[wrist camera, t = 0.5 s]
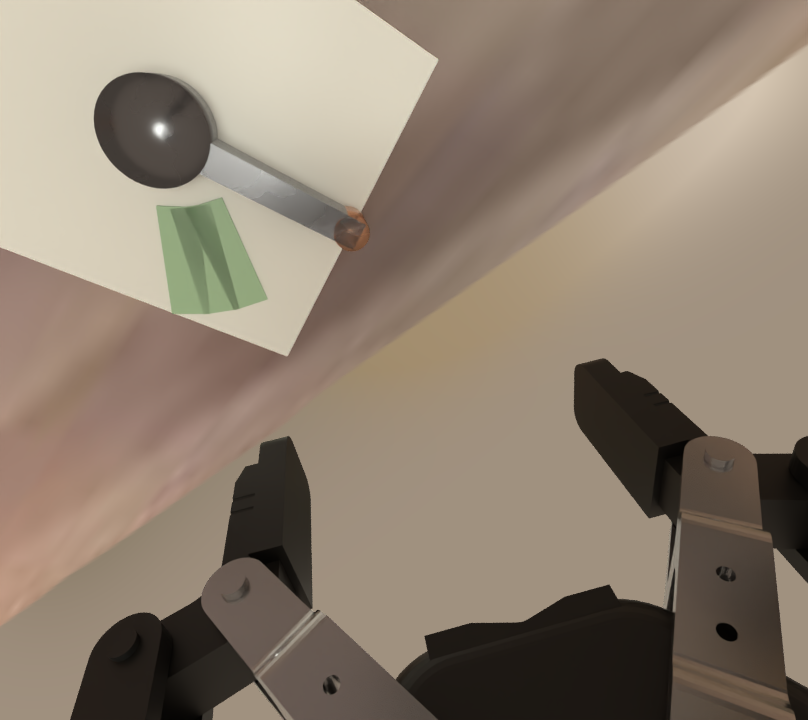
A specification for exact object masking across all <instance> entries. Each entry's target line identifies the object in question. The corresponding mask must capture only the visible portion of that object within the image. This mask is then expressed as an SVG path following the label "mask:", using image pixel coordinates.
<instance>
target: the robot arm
mask: <svg viewBox="0 0 808 720" xmlns="http://www.w3.org/2000/svg"><path fill="white" fill-rule="evenodd" d="M574 412H575V417H576V420H577V423H578V425H579V427H580V429H581V430H582V432H583V433H584V434H585V436H586V437H587V438H588V440H589V441H590V442H591V443H592V445H593V446H594V447H595V449H596V450H597V451H598V453H599V454H600V455H601V456H602V458H603V459H604V460H605V462H606V463H607V464H608V466H609V467H610V468H611V470H612V471H613V472H614V473H615V475H616V476H617V477H618V479H619V480H620V481H621V483H622V484H623V485H624V486H625V488H626V489H627V490H628V492H629V493H630V494H631V496H632V497H633V498H634V499H635V501H636V502H637V503H638V505H639V506H640V507H641V509H642V510H643V511H644V513H645V514H646V515H647V516H648V518H652V517H656V516H660V515H664V514H666V515H667V516H668V517H669V519H670V520H671V521H672V523H671V528H670V538H669V550H668V563H667V574H666V586H665V596H664V604H663V608H661V607H658V606H655V605H652V604H649V603H645V602H640V601H635V600H627V599H617V597H616V596H615V594H614V592H613V590H612V589H611V587H610V585H606V586H603V587H599V588H595V589H591V590H588V591H584V592H581V593H577V594H573V595H570V596H566V597H564V598H562V599H560V600H559V601H557V602H556V603H554V604H552V605H551V606H549V607H547V608H546V609H544V610H543V611H541V612H539V613H538V614H536V615H534V616H533V617H531V618H530V619H528V620H526V621H524V622H518V623H469V624H466V625H462V626H459V627H455V628H451V629H448V630H444V631H441V632H437V633H434V634H430V635H426V636H425V640H426V645H427V650H428V651H427V652H425V653H424V654H422V655H420V656H419V657H418V658H416V659H415V660H414V661H413V662H411V663H410V664H409V665H408V666H407V667H406V668H405V669H404V670H403V671H402V672H401V673H400V674H399V676H398V677H397V678H396V680H395V679H394V678H393V677H392V676H391V675H390V674H389V673H388V672H387V671H385V669H383V668H382V667H381V666H380V665H379V664H378V663H377V662H376V661H375V660H374V659H373V658H372V657H371V656H370V655H369V654H367V653H366V652H365V651H364V650H363V649H362V648H361V647H360V646H359V645H358V644H357V643H356V642H355V641H354V640H353V639H352V638H350V637H349V636H348V635H347V634H346V633H345V632H344V631H343V630H342V629H341V628H340V627H339V626H337V624H336V623H334V622H333V621H332V620H331V619H330V618H329V617H328V616H327V615H326V614H324V613H323V612H322V611H320V610H317V611H316V612H313V611H312V610H311V609H312V556H311V555H312V553H311V499H310V491H309V485H308V481H307V478H306V475H305V472H304V470H303V468H302V465H301V462H300V460H299V457H298V454H297V452H296V449H295V447H294V444H293V442H292V440H291V438H290V437H289V436H287V437H283V438H279V439H275V440H272V441H267V442H263V443H261V445H260V454H259V462H258V464H254V465H250V466H246V467H245V468H244V470H243V471H242V473H241V475H240V476H239V478H238V480H237V481H236V482H235V488H234V495H233V502H232V507H231V515H230V519H229V525H228V531H227V537H226V543H225V549H224V556H223V562H222V566H221V568H219V569H218V570H217V571H216V572H215V573H214V574H213V575H212V576H211V577H210V579H209V580H208V582H207V583H206V585H205V587H204V589H203V592H202V596H201V597H200V598H198V599H197V600H196V601H194V602H193V603H191V604H190V605H188V606H186V607H184V608H182V609H181V610H179V611H177V612H175V613H174V614H172V615H170V616H168V617H166V618H165V619H163V620H161V621H160V620H159V619H158V618H157V617H156V616H155V615H153V614H151V613H137V614H133V615H131V616H128V617H126V618H124V619H122V620H120V621H119V622H117V623H116V624H115V625H113V626H112V627H111V628H110V629H109V630H108V631H107V632H106V633H105V634H104V635H103V636H102V637H101V638H100V639H99V641H98V642H97V644H96V645H95V647H94V648H93V650H92V652H91V655H90V657H89V660H88V664H87V667H86V670H85V673H84V677H83V680H82V683H81V686H80V690H79V693H78V696H77V699H76V703H75V706H74V709H73V712H72V716H71V719H70V720H212V718H213V708H214V707H215V706H217V705H218V704H219V703H221V702H223V701H224V700H226V699H227V698H229V697H230V696H232V695H234V694H235V693H237V692H238V691H240V690H241V689H243V688H244V687H246V686H248V685H249V684H251V683H252V682H253V683H254V684H255V685H256V686H257V688H258V689H259V690H260V691H261V693H262V694H263V695H264V697H265V698H266V699H267V700H268V702H269V703H270V704H271V705H272V707H273V708H274V709H275V711H276V712H277V713H278V714H279V716H280V717H281V718H282V719H283V720H808V688H807V687H805V686H803V685H801V684H800V683H798V682H796V681H794V680H792V679H791V678H789V677H787V676H786V673H785V664H784V653H783V644H782V633H781V623H780V613H779V603H778V594H777V584H776V573H775V563H774V553H773V548H777V550H778V551H779V552H780V553H781V554H782V555H783V556H784V557H785V558H786V560H788V562H789V563H790V564H791V565H792V566H793V567H794V568H795V570H796V571H797V572H798V573H799V574H800V575H801V576H802V577H803V578H804V580H805V581H806V582H807V583H808V436H806V437H804V438H802V439H800V440H799V441H797V443H796V445H795V447H794V450H793V453H792V454H752V453H751V452H750V451H749V450H748V449H747V448H745V447H744V446H743V445H741V444H739V443H737V442H734V441H732V440H730V439H726V438H722V437H715V436H707V435H706V434H705V433H704V432H703V431H702V430H701V429H700V428H699V427H698V426H696V425H695V424H694V423H693V422H692V421H691V420H690V419H689V418H688V417H687V416H686V415H684V414H683V413H682V412H681V411H680V410H679V409H678V408H677V407H676V406H675V405H673V404H672V403H669V400H668V399H667V398H666V397H665V396H663V395H662V394H661V393H660V394H659V392H658V390H657V389H656V388H655V387H654V386H653V385H651V384H650V383H649V382H648V381H647V380H646V379H644V378H642V377H639V376H637V375H635V374H633V373H631V372H628V371H626V372H622V373H620V372H619V371H618V370H617V369H616V368H615V367H614V366H613V365H612V364H611V363H610V362H609V361H608V360H606V359H598V360H594V361H590V362H587V363H582V364H578V365H576V367H575V372H574Z"/></svg>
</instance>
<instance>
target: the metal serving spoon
mask: <svg viewBox="0 0 808 720" xmlns="http://www.w3.org/2000/svg"><path fill="white" fill-rule="evenodd" d="M94 128H95V132H96V136H97V139H98V142H99V144H100V146H101V148H102V150H103V152H104V153H105V155H106V157H107V158H108V159H109V160H110V162H111V163H112V164H113V165H114V166H115V167H116V168H117V169H118V170H119V171H120V172H122V173H123V174H124V175H125V176H127V177H128V178H130V179H132V180H133V181H135V182H137V183H140V184H142V185H145V186H148V187H152V188H159V189H168V188H175V187H179V186H182V185H184V184H186V183H188V182H190V181H191V180H193V179H194V178H195V177H196V176H197V175H199V174H200V175H203V176H205V177H207V178H209V179H211V180H213V181H215V182H217V183H219V184H221V185H223V186H225V187H227V188H229V189H231V190H233V191H235V192H237V193H239V194H241V195H243V196H245V197H247V198H249V199H251V200H253V201H255V202H257V203H259V204H261V205H263V206H265V207H267V208H269V209H271V210H273V211H275V212H277V213H279V214H281V215H283V216H285V217H287V218H289V219H291V220H293V221H295V222H297V223H299V224H301V225H303V226H305V227H307V228H309V229H311V230H313V231H315V232H317V233H320V234H322V235H324V236H326V237H328V238H330V239H332V240H334V241H336V243H337V244H338V246H339V247H341V248H342V249H344V250H347V251H357V250H359V249H361V248H363V247H364V246H365V245H366V243H367V242H368V240H369V235H370V232H369V227H368V225H367V223H366V221H365V219H364V217H363V215H362V213H361V212H360V211H359V210H358V209H356V208H354V207H351V206H343V205H342V204H340V203H338V202H336V201H334V200H332V199H330V198H328V197H326V196H325V195H323V194H321V193H319V192H317V191H315V190H313V189H311V188H310V187H308V186H306V185H304V184H302V183H300V182H298V181H296V180H294V179H293V178H291V177H289V176H287V175H285V174H283V173H281V172H279V171H277V170H276V169H274V168H272V167H270V166H268V165H266V164H264V163H262V162H260V161H259V160H257V159H255V158H253V157H251V156H249V155H247V154H245V153H244V152H242V151H240V150H238V149H236V148H234V147H232V146H230V145H228V144H227V143H225V142H223V141H221V140H219V139H218V133H217V126H216V122H215V119H214V116H213V113H212V111H211V109H210V107H209V106H208V104H207V103H206V101H205V100H204V99H203V97H202V96H201V95H200V94H199V93H198V92H197V91H196V90H195V89H194V88H192V87H191V86H190V85H189V84H187V83H185V82H184V81H182V80H180V79H178V78H176V77H173V76H170V75H166V74H160V73H145V72H133V73H128V74H124V75H121V76H119V77H117V78H115V79H113V80H112V81H111V82H109V83H108V84H107V85H106V86H105V87H104V89H103V90H102V91H101V93H100V95H99V96H98V99H97V101H96V104H95V109H94Z"/></svg>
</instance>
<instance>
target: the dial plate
mask: <svg viewBox="0 0 808 720" xmlns="http://www.w3.org/2000/svg"><path fill="white" fill-rule="evenodd" d="M437 62H438V59H437V58H435V57H434V56H433V55H431V54H430V53H428V52H427V51H426V50H424V49H423V48H421V47H420V46H419V45H417V44H416V43H414V42H413V41H412V40H410V39H409V38H408V37H406V36H405V35H403V34H402V33H401V32H399V31H398V30H396V29H395V28H394V27H392V26H391V25H389V24H388V23H387V22H385V21H384V20H382V19H381V18H380V17H378V16H377V15H375V14H374V13H373V12H371V11H370V10H368V9H367V8H366V7H364V6H363V5H361V4H360V3H359V2H357V1H356V0H0V247H1V248H3V249H6V250H9V251H11V252H14V253H17V254H19V255H22V256H24V257H27V258H30V259H32V260H35V261H38V262H40V263H43V264H45V265H48V266H51V267H53V268H56V269H59V270H61V271H64V272H66V273H69V274H72V275H74V276H77V277H80V278H82V279H85V280H88V281H90V282H93V283H95V284H98V285H101V286H103V287H106V288H109V289H111V290H114V291H116V292H119V293H122V294H124V295H127V296H130V297H132V298H135V299H137V300H140V301H143V302H145V303H148V304H151V305H153V306H156V307H158V308H161V309H164V310H166V311H169V312H172V314H177V315H180V316H182V317H185V318H187V319H190V320H193V321H195V322H198V323H201V324H203V325H206V326H208V327H211V328H214V329H216V330H219V331H222V332H224V333H227V334H229V335H232V336H235V337H237V338H240V339H243V340H245V341H248V342H250V343H253V344H256V345H258V346H261V347H264V348H266V349H269V350H272V351H274V352H277V353H279V354H282V355H285V356H288V354H289V352H290V350H291V348H292V347H293V345H294V343H295V341H296V339H297V337H298V335H299V333H300V331H301V329H302V327H303V325H304V323H305V321H306V319H307V317H308V315H309V313H310V311H311V309H312V307H313V305H314V303H315V301H316V299H317V297H318V295H319V294H320V292H321V290H322V288H323V286H324V284H325V282H326V280H327V278H328V276H329V274H330V272H331V270H332V268H333V266H334V264H335V262H336V260H337V258H338V256H339V254H340V252H341V250H342V248H341V247H339V246H338V244H337V243H336V241H334V240H332V239H330V238H328V237H326V236H324V235H322V234H320V233H317V232H315V231H313V230H311V229H309V228H307V227H305V226H303V225H301V224H299V223H297V222H295V221H293V220H291V219H289V218H287V217H285V216H283V215H281V214H279V213H277V212H275V211H273V210H271V209H269V208H267V207H265V206H263V205H261V204H259V203H257V202H255V201H253V200H251V199H249V198H247V197H245V196H243V195H241V194H239V193H237V192H235V191H233V190H231V189H229V188H227V187H225V186H223V185H221V184H219V183H217V182H215V181H213V180H211V179H209V178H207V177H205V176H203V175H200V174H199V175H197V176H196V177H195V178H194V179H193V180H191V181H190V182H188V183H186V184H184V185H182V186H179V187H175V188H168V189H159V188H152V187H148V186H145V185H142V184H140V183H137V182H135V181H133V180H132V179H130V178H128V177H127V176H125V175H124V174H123V173H122V172H120V171H119V170H118V169H117V168H116V167H115V166H114V165H113V164H112V163H111V162H110V160H109V159H108V158H107V157H106V155H105V153H104V152H103V150H102V148H101V146H100V144H99V142H98V139H97V136H96V132H95V128H94V109H95V104H96V101H97V99H98V96H99V95H100V93H101V91H102V90H103V89H104V87H105V86H106V85H107V84H108V83H109V82H111V81H112V80H113V79H115V78H117V77H119V76H121V75H124V74H128V73H133V72H145V73H160V74H166V75H170V76H173V77H176V78H178V79H180V80H182V81H184V82H185V83H187V84H189V85H190V86H191V87H192V88H194V89H195V90H196V91H197V92H198V93H199V94H200V95H201V96H202V97H203V99H204V100H205V101H206V103H207V104H208V106H209V107H210V109H211V111H212V113H213V116H214V119H215V122H216V126H217V133H218V139H219V140H221V141H223V142H225V143H227V144H228V145H230V146H232V147H234V148H236V149H238V150H240V151H242V152H244V153H245V154H247V155H249V156H251V157H253V158H255V159H257V160H259V161H260V162H262V163H264V164H266V165H268V166H270V167H272V168H274V169H276V170H277V171H279V172H281V173H283V174H285V175H287V176H289V177H291V178H293V179H294V180H296V181H298V182H300V183H302V184H304V185H306V186H308V187H310V188H311V189H313V190H315V191H317V192H319V193H321V194H323V195H325V196H326V197H328V198H330V199H332V200H334V201H336V202H338V203H340V204H342V205H343V206H351V207H354V208H356V209H358V210H359V211H360V212H361V211H362V209H363V207H364V205H365V203H366V201H367V199H368V197H369V195H370V193H371V191H372V189H373V188H374V186H375V184H376V182H377V180H378V178H379V176H380V174H381V172H382V170H383V168H384V166H385V164H386V162H387V160H388V158H389V156H390V154H391V152H392V150H393V148H394V146H395V144H396V142H397V140H398V138H399V136H400V135H401V133H402V131H403V129H404V127H405V125H406V123H407V121H408V119H409V117H410V115H411V113H412V111H413V109H414V107H415V105H416V103H417V101H418V99H419V97H420V95H421V93H422V91H423V89H424V87H425V85H426V83H427V81H428V80H429V78H430V76H431V74H432V72H433V70H434V68H435V66H436V64H437Z"/></svg>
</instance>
